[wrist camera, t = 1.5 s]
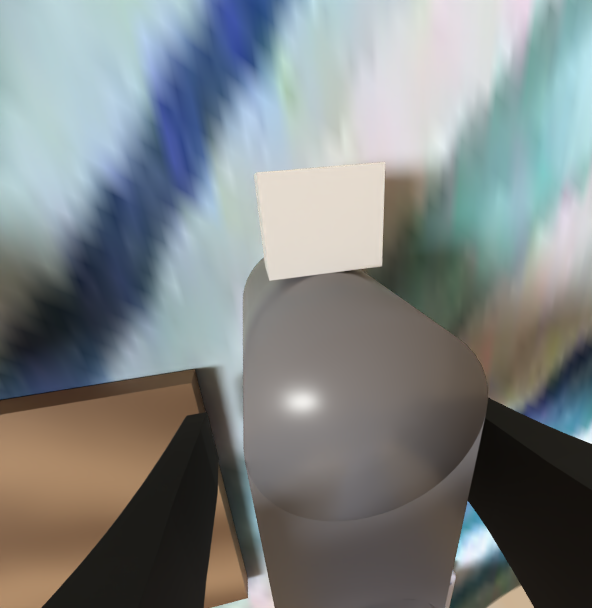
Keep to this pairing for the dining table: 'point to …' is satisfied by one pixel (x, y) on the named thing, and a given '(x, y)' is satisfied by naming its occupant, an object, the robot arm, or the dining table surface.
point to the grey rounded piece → (350, 405)
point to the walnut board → (92, 481)
